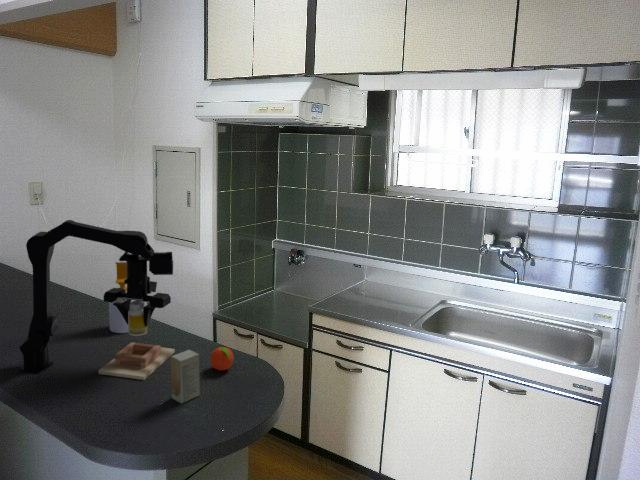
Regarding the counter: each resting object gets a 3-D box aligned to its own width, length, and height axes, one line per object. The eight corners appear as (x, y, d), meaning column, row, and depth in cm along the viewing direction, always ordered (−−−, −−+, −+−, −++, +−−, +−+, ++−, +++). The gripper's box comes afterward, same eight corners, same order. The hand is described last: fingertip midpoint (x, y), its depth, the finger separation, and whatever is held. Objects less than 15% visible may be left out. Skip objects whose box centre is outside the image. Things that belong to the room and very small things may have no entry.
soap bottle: (108, 334, 178) (106, 264, 173) (111, 324, 187) (109, 258, 182) (136, 333, 181) (134, 264, 176) (137, 323, 189) (136, 257, 184)
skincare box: (190, 390, 144) (190, 348, 141) (200, 395, 141) (200, 353, 139) (170, 398, 139) (170, 355, 137) (180, 404, 136) (180, 360, 134)
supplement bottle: (125, 332, 157) (125, 301, 156) (143, 328, 161) (142, 298, 159) (132, 337, 153) (131, 306, 151) (150, 334, 157) (149, 303, 155)
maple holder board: (143, 379, 148) (143, 366, 147) (98, 373, 150) (98, 360, 149) (174, 351, 168) (174, 340, 167) (133, 346, 170) (133, 335, 169)
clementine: (240, 371, 156) (240, 349, 155) (220, 378, 152) (220, 355, 150) (225, 362, 162) (225, 340, 161) (205, 368, 157) (205, 346, 156)
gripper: (178, 271, 160) (178, 319, 163) (122, 265, 163) (122, 313, 166) (162, 280, 149) (162, 332, 152) (101, 274, 152) (103, 325, 155)
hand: (137, 325), depth 157 cm, fingers closed on supplement bottle, 5 cm apart
